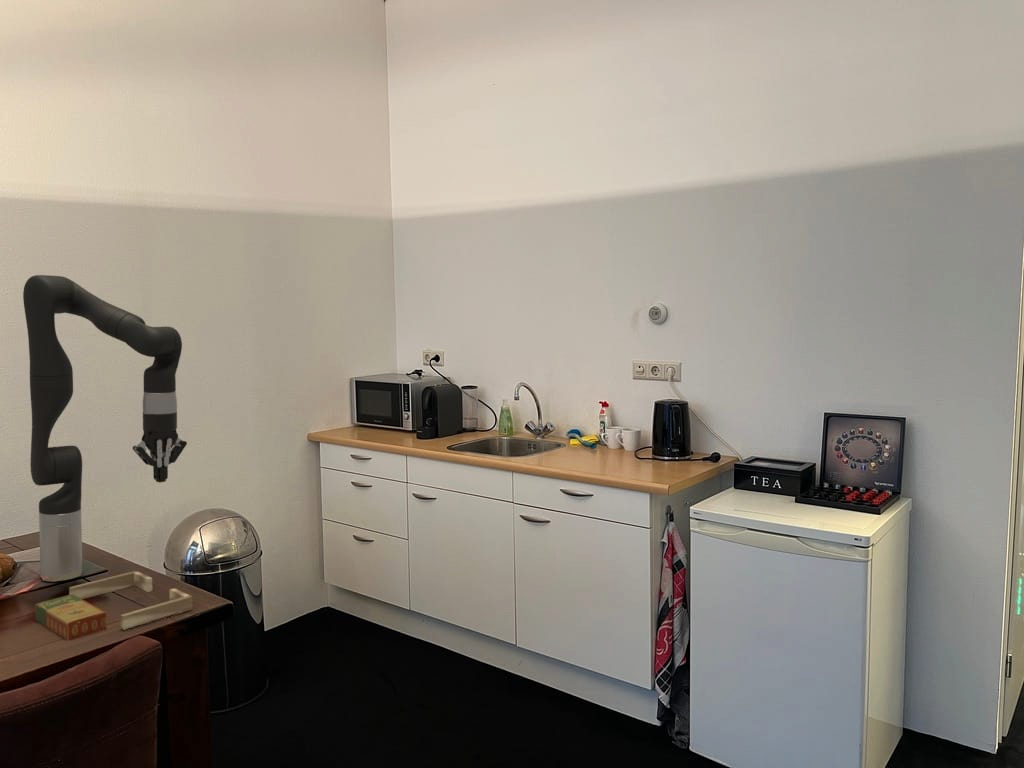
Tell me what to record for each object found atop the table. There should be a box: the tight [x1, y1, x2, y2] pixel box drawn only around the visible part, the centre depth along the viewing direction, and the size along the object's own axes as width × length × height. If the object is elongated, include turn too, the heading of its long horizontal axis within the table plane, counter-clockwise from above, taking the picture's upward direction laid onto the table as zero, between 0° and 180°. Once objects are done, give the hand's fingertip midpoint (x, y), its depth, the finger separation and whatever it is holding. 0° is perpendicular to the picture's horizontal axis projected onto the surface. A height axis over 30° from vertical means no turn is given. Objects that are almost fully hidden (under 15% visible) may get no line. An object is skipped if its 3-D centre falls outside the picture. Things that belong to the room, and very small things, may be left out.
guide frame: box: [68, 570, 193, 631], centre depth 188 cm, size 25×16×3 cm, turn 52°
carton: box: [34, 594, 107, 641], centre depth 177 cm, size 8×16×4 cm, turn 52°
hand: (160, 481), depth 196 cm, fingers closed
